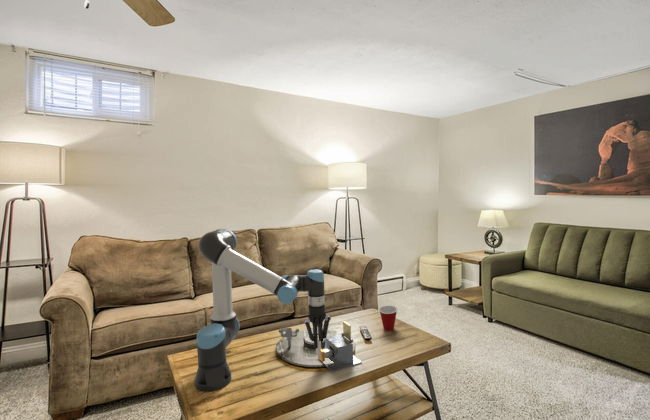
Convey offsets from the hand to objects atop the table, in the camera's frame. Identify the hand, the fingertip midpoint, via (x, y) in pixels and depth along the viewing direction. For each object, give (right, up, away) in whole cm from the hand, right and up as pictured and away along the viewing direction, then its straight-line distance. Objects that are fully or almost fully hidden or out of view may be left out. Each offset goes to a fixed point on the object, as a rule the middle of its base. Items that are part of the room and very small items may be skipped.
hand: (318, 354), depth 157 cm
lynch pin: (+7, -3, +4) cm, 8 cm away
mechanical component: (-16, -6, +21) cm, 26 cm away
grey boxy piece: (+10, -6, +5) cm, 13 cm away
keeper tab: (+14, +9, +7) cm, 18 cm away
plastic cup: (+39, -3, +40) cm, 56 cm away
